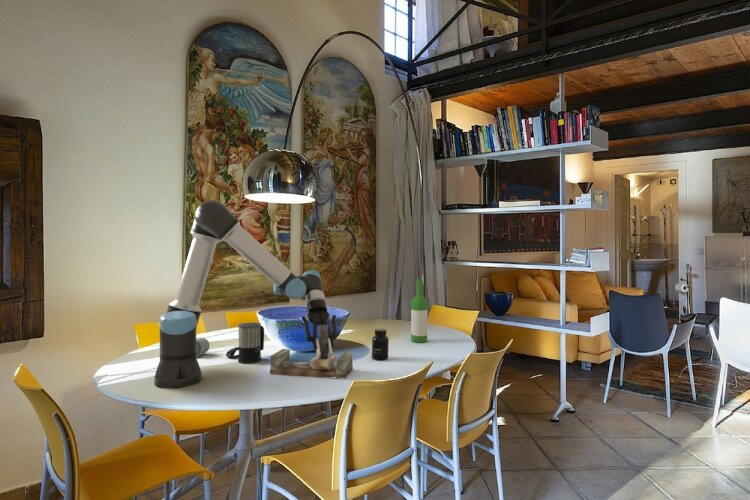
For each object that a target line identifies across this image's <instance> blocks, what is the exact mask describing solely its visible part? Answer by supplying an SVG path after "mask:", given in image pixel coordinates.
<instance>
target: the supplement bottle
mask: <svg viewBox="0 0 750 500" xmlns="http://www.w3.org/2000/svg"><path fill="white" fill-rule="evenodd" d="M371 339H372V340H371V359H372V360H374V361H387V360H388V359H389V343H390V342H389V337H388V336H387V329H384V328H376V329H374V336H372V338H371Z"/></svg>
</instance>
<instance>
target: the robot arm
mask: <svg viewBox="0 0 750 500" xmlns="http://www.w3.org/2000/svg"><path fill="white" fill-rule="evenodd" d="M195 210H196V211H195V213H194V214H195V215H194V219H193V223H192V226H191V228H190V234H191V235H192V241H191V245H190V248H189V251H188V255H187V258H186V261H185V265H184V269H183V271H182V275H181V278H180V281H179V285H178V289H177V292H176V295H175V299H174V300H173V301H171V302H169V304H168V306H167V309H166V313H164V314H162V315H161V316H160V318H159V321H158V326H159V327H158V328H159V362H158V364H157V368H156V370H155V375H154V379H153V381H154V383H153V384H154V385H155V386H156V387H159V388H167V389H169V388H181V387H187V386H191V385H195V384H197V383H200V382H201V381H202V379H203V377H202V376H203V372H202V370H201V367H200V363H199V361H198V357H196V338H197V330H198V329H197V328H198V325H199V320H200V317H201V313H202V308H201V307H200V303H201V298H202V295H203V292H204V288H205V285H206V281H207V278H208V274H209V272H210V267H211V264H212V261H213V257H214V255H215V254H214V253H215V251H216V247H217V245H218V243H220V242H222V241H223V242H225V243H227V244H228V245H229V246H230V247H232V248H233V249H234V250H235V251H236V252H237V253H238V254H239V255H241V256H242V257H243V259H244V260H246V261H247V262H249V263H250V265H252V266H253V267H254V268H255V269H257V271H259V272H260V273H261V274H262V275H263V276H265V278H267V280H269V281H270V282H272V283H273V284H272V285H273V287H272V288H273V293H274V295H278V296H279V295H280V296H283V295H286V296H287V298H289V299H290V300H299V299H300V300H301V299H302V298H303V297H305V302H306V309H307V316H301V324H302V325H303V329H304V334H305V338H306V342H308V343H309V342H311V344H312V349H313V350H316V356H317V357H318V358H320V355H321V353H320V347H319V341H318V338H317V330H318V326H319V325H328V322H327V321H328V319H329V322H330V327H331V329H330V327H329V325H328V355H329V357H332V356H333V355H334V354H333V349H334V345H335V343H334V341H335V340H336V339H337V336H338V335H337V334H338V333H337V326H336V314H333V315H331V314H330V313H329V312H328V308H327V303H326V298H325V297H326V296H325V293H324V288H323V287H324V286H323V281H322V280H323V279H322V278H321V275H320V272H319V271H317V270H315V269H310V270H306V271H305V272H303V274H302V275H295V274H294V273H293V272H292V271H291V270H290V269H289V268H288V267H286V266H285V264H283V263H282V262H281V261H280V260H279V259H278V258H277V257H275V256H274V255H273V254H272V253H271V252H270V251H269V250H267V248H266V247H265V246H264V245H262V244H261V243H260V242H259V240H257V239H255V237H254V236H252V235H251V234H250V233H249V232H248V231H247V230H246V229H244V227H243V226H241V224H240V222H241V221H240V220H239V219H238V218H237V217H235V215H234V214H233V213H232V212H231V211H230V209H228V207H227V206H226V205H225V204H224V203H223V202H221V201H219V200H216V199H209V200H205V201H203V202H201V203H200V204H199V205H198V206H197V208H196V209H195ZM308 321H309V322H311V323H312V334H311V330H310V326H309V323H308ZM311 335H312V336H311Z"/></svg>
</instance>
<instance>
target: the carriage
mask: <svg viewBox="0 0 750 500" xmlns="http://www.w3.org/2000/svg"><path fill="white" fill-rule="evenodd" d="M328 327H329V325H317V331H318V332H317V335H318V337H317V339H318V341H319V347H320V353H321V355H320V358H318V357H317V355H316V356H314V357H312V358H311V359H310V360H309V363H310V366H312V369H323V370H331V365H332V364H335V362H336V360H337V358H336V357H337V356H336V355H332V357H329V352H328Z"/></svg>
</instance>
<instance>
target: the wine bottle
mask: <svg viewBox="0 0 750 500" xmlns="http://www.w3.org/2000/svg"><path fill="white" fill-rule="evenodd" d="M415 282H416V283H415V285H416V290H415V291H416V292H415V293H416V294H415V296H414V297H413V298H412V300H411V305H410V306H411V307H410V308H411V309H410V311H411V313H410V317H411V318H410V339H411V342H413V343H415V344H416V343H418V344H419V343H420V344H421V343H426V342H427V341H428V301H427V299H426V298H425V296H424V294H423V286H424V285H423V279H421V278H418V279H416V280H415Z"/></svg>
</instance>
